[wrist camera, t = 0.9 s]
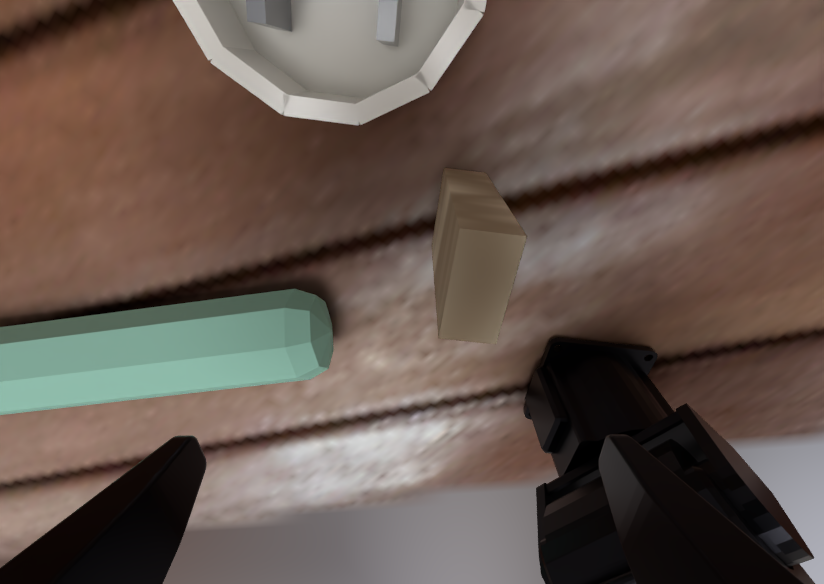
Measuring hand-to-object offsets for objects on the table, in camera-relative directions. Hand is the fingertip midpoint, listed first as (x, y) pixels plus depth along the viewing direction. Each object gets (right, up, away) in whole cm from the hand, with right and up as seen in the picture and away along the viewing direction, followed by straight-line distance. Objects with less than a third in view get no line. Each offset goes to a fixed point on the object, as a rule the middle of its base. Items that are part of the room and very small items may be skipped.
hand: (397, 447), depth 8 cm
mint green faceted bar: (-16, +1, +15) cm, 22 cm away
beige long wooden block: (+3, +7, +11) cm, 13 cm away
